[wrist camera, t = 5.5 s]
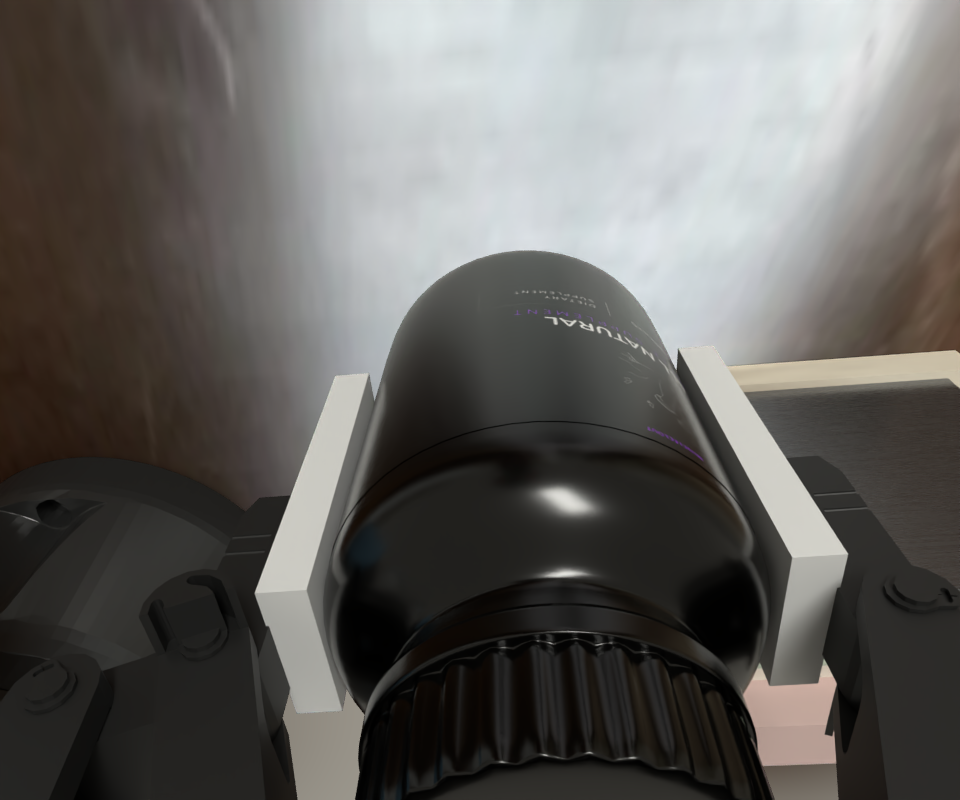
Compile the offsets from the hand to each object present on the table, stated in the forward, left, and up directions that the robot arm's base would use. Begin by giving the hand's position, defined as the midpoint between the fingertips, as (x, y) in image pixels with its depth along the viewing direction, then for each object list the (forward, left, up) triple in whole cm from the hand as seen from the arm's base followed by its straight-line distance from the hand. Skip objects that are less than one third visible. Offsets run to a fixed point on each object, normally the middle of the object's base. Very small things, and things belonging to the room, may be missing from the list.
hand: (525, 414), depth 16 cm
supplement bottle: (0, 0, -2) cm, 2 cm away
